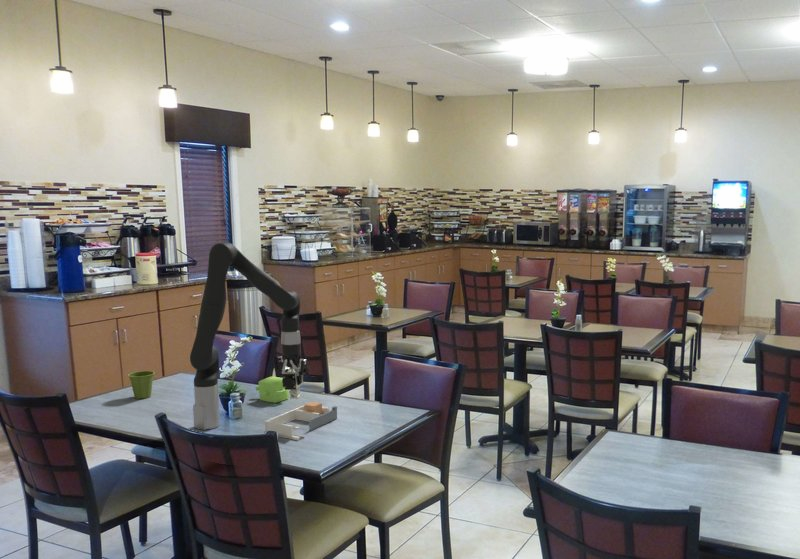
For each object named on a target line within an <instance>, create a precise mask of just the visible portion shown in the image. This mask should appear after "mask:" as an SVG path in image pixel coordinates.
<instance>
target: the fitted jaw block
mask: <svg viewBox="0 0 800 559" xmlns="http://www.w3.org/2000/svg"><path fill="white" fill-rule="evenodd" d="M304 405H305V411H309V412H314V413H320V415H322V407H323V402H318V401H317V402H316V401H310V402H308V403H306V404H304Z"/></svg>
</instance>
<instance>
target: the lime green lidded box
mask: <svg viewBox="0 0 800 559" xmlns="http://www.w3.org/2000/svg"><path fill="white" fill-rule="evenodd" d="M282 379H283V377H277V376H269V377H266V378H263V379H261V380H259V381H258V382H257V383H258V385H256V386H255V391H257V392H258V393H259V400H260V401H264V402H268V403H279V402H283V401H285V400H287V399H290V393H289V391H290V390H285V389H284V387H283V383H282Z"/></svg>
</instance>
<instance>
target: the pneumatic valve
mask: <svg viewBox="0 0 800 559" xmlns="http://www.w3.org/2000/svg"><path fill="white" fill-rule="evenodd" d="M282 378H283V379H282V383H283V387H284V389H285V390H288V391H289V399H290V400H292V399H293V400H294V399H295V400H298V399H299V398H300V397H301V392H300V391H301V389H300V387H301V386H302V385H304V374H303V375H302V383H301V384H300V385H298V384H297V374H296V372H295V371H294V369H293V368H289V370H288V371H286V372H284V374H282Z"/></svg>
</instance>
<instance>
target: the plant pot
mask: <svg viewBox="0 0 800 559" xmlns="http://www.w3.org/2000/svg"><path fill="white" fill-rule="evenodd" d="M155 373H156V372H155V371H154V370H153V371H152V370H142V371H141V370H139V371H135V372H133V371H132V372H130V373H128V374H127V377H128V378H129V381H130V384H131V387H132V392H133V397H134V399H137V400H140V399H143V400H144V399H148V398H150V397H151V396H152V392H153V391H152V388H153V379H154V376H155Z"/></svg>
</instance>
